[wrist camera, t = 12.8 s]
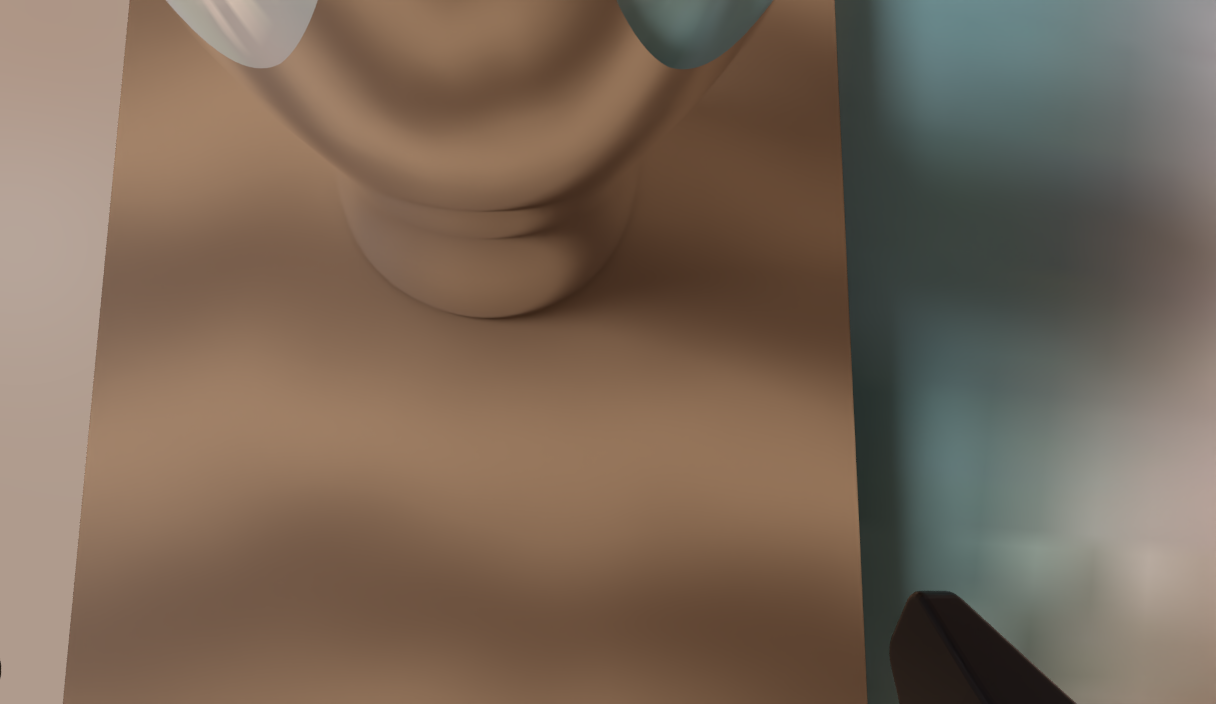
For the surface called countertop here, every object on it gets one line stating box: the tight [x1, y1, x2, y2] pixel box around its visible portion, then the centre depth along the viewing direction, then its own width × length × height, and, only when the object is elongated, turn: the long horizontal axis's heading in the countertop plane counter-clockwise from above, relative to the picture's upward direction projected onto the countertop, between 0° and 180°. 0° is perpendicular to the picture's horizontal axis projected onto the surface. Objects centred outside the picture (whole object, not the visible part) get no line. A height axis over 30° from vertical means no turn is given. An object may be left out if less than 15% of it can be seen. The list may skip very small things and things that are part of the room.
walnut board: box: [63, 0, 867, 704], centre depth 19 cm, size 24×15×2 cm, turn 0°
